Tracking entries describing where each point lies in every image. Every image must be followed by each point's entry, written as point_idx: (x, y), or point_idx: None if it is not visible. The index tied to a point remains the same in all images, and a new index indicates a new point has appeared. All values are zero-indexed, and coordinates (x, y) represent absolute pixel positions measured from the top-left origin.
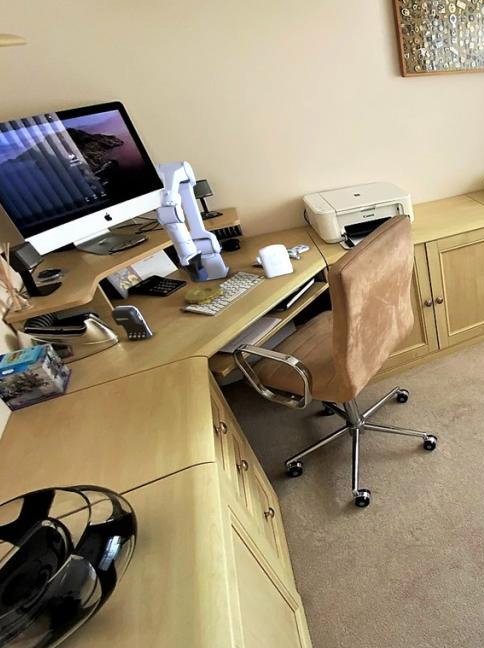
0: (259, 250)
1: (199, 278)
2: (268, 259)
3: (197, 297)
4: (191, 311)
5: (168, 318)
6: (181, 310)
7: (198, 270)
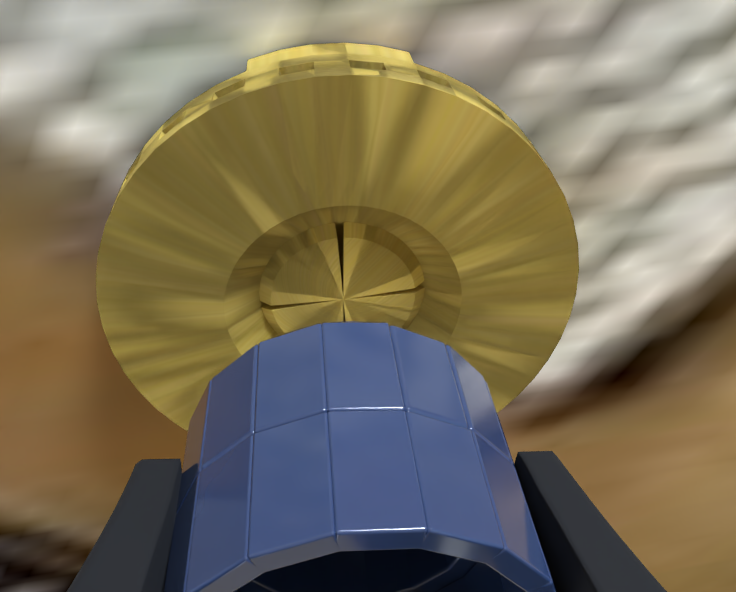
0: None
1: (556, 458)
2: None
3: (502, 340)
4: (656, 335)
5: (654, 473)
6: (559, 416)
7: (549, 589)
